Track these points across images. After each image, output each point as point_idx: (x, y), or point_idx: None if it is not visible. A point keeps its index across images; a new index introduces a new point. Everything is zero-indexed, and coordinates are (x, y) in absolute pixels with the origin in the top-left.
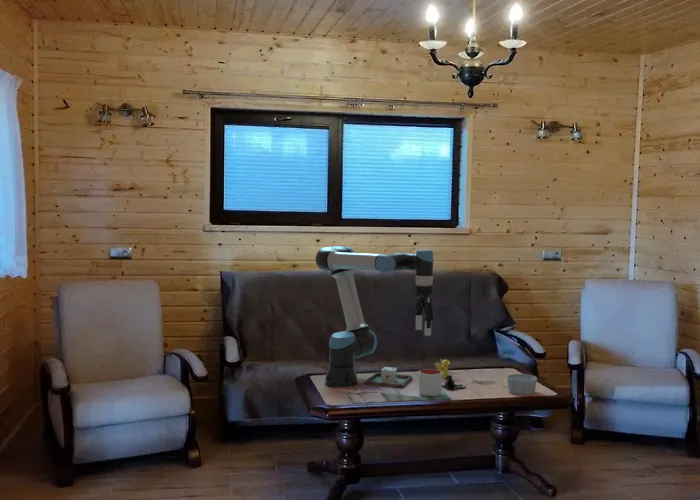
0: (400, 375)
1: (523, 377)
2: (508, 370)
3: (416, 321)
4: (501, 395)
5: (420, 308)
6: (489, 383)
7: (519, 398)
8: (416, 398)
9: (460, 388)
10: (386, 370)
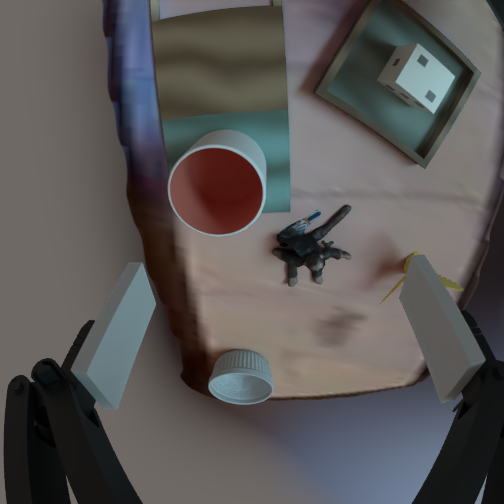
0: (439, 133)
1: (265, 391)
2: (399, 378)
3: (443, 312)
4: (218, 330)
5: (434, 484)
6: (323, 337)
7: (195, 348)
8: (177, 111)
9: (288, 269)
10: (408, 59)
